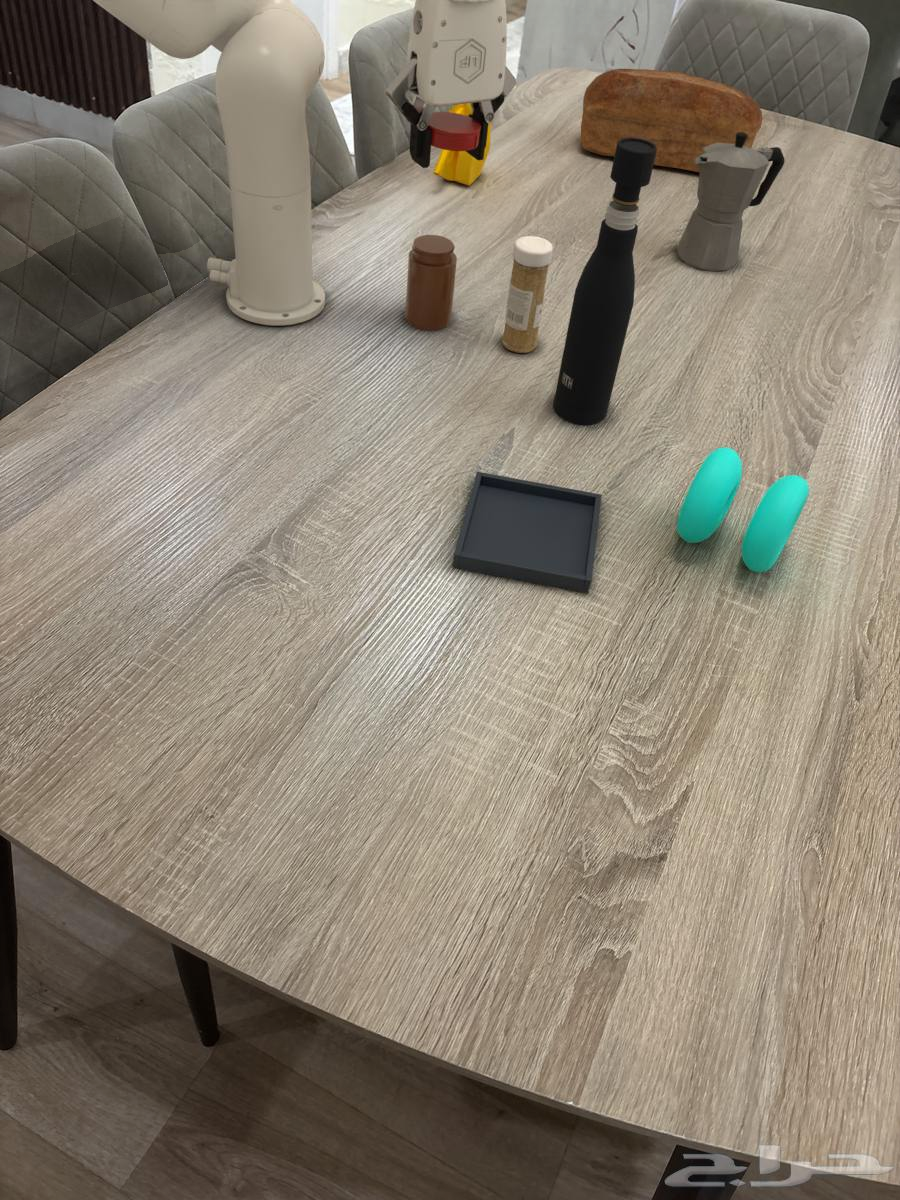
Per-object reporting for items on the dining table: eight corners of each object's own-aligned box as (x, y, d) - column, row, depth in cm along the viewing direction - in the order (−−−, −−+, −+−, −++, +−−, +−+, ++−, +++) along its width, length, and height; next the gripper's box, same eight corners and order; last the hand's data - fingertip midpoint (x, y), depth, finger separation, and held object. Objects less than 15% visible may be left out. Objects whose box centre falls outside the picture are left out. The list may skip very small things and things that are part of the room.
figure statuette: (459, 155, 162) (472, 9, 146) (502, 165, 160) (520, 19, 145) (421, 192, 150) (431, 37, 134) (467, 203, 148) (482, 48, 133)
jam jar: (402, 327, 120) (406, 251, 113) (407, 304, 125) (412, 230, 117) (449, 332, 120) (456, 257, 113) (452, 309, 125) (459, 235, 117)
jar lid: (489, 142, 106) (491, 124, 105) (461, 156, 102) (463, 138, 101) (440, 125, 108) (442, 107, 107) (410, 138, 104) (412, 120, 102)
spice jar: (543, 349, 120) (561, 247, 110) (514, 357, 118) (530, 255, 108) (522, 332, 122) (537, 231, 112) (493, 340, 120) (507, 238, 110)
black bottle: (611, 402, 112) (675, 140, 91) (600, 430, 108) (664, 163, 87) (560, 388, 114) (611, 127, 92) (546, 416, 109) (597, 149, 88)
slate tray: (452, 567, 90) (453, 554, 89) (475, 483, 99) (476, 471, 98) (588, 593, 89) (591, 580, 88) (598, 506, 98) (601, 494, 97)
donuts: (757, 596, 91) (793, 518, 84) (662, 553, 94) (689, 474, 87) (788, 540, 97) (824, 463, 90) (699, 502, 100) (726, 425, 93)
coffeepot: (686, 277, 137) (722, 149, 124) (652, 248, 143) (684, 122, 130) (771, 265, 142) (814, 141, 129) (735, 238, 148) (773, 116, 135)
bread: (745, 187, 163) (770, 104, 153) (570, 155, 166) (585, 71, 157) (747, 162, 171) (771, 81, 161) (581, 131, 175) (595, 51, 165)
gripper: (403, -11, 88) (395, 182, 101) (553, -19, 95) (528, 163, 108) (367, -32, 93) (364, 156, 106) (514, -38, 100) (494, 139, 112)
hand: (447, 158), depth 107 cm, fingers closed on jar lid, 6 cm apart
